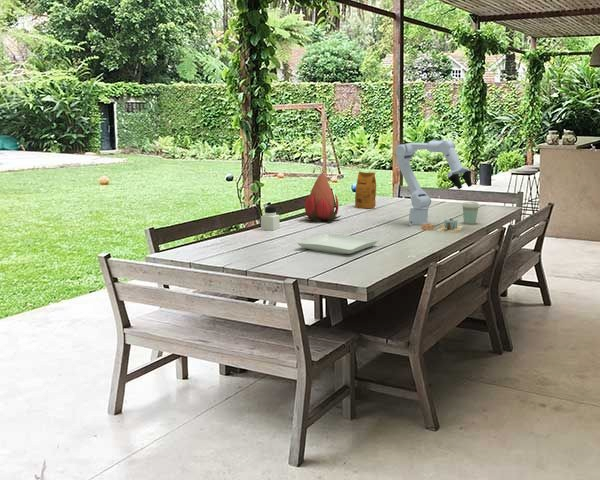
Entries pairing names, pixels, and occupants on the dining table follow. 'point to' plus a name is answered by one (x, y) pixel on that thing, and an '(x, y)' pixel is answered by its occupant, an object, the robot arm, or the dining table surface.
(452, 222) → the gear
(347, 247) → the square plate
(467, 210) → the coffee cup
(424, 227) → the loose gear
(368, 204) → the coffee package
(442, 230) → the gear board
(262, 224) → the medicine bottle
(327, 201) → the decorative flower
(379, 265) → the dining table surface
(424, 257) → the dining table surface
